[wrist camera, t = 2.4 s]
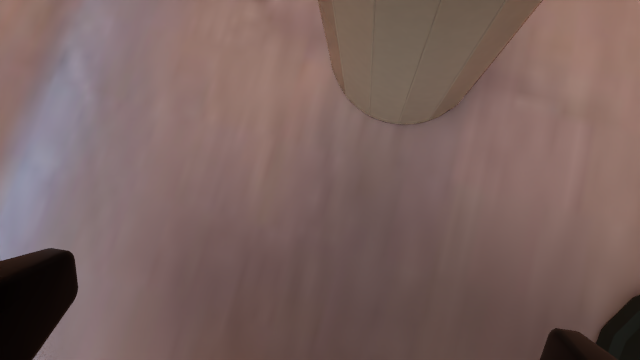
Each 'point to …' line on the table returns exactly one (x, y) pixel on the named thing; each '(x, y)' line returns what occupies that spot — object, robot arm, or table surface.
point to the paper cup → (416, 51)
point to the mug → (623, 332)
